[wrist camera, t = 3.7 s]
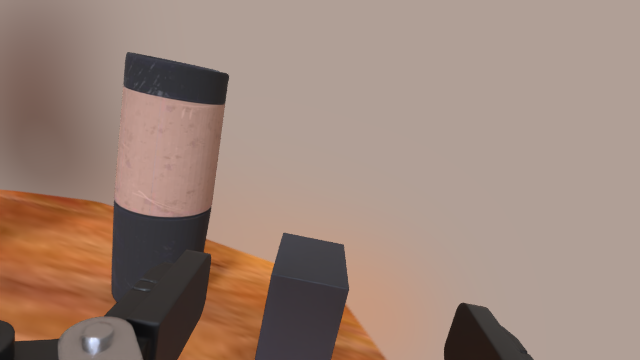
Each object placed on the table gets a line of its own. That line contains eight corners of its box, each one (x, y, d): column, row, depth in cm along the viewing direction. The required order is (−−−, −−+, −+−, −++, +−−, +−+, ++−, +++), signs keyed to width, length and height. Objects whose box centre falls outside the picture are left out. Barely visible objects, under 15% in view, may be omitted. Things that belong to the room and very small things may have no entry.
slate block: (244, 413, 23) (271, 273, 20) (260, 347, 29) (283, 232, 26) (314, 425, 23) (349, 288, 21) (316, 357, 29) (343, 244, 26)
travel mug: (85, 293, 30) (98, 46, 25) (152, 258, 38) (172, 60, 33) (161, 326, 29) (190, 66, 24) (215, 283, 36) (247, 77, 31)
